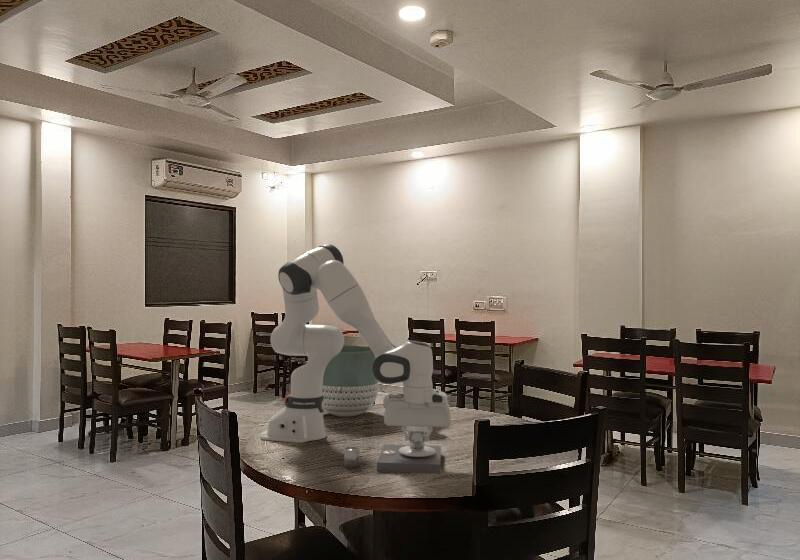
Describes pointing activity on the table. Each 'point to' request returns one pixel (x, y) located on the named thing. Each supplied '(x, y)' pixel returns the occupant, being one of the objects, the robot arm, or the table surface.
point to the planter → (350, 382)
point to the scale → (409, 459)
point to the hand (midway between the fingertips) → (417, 440)
